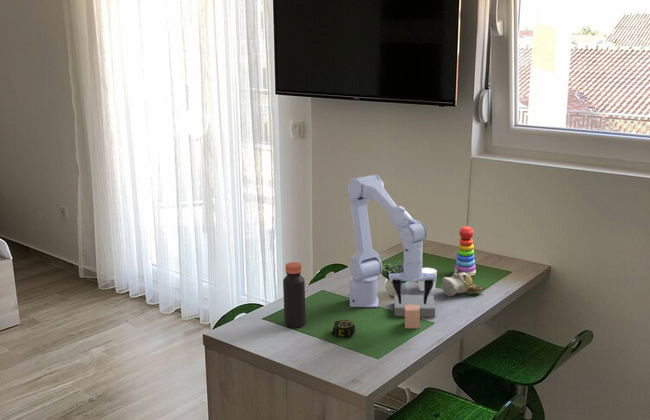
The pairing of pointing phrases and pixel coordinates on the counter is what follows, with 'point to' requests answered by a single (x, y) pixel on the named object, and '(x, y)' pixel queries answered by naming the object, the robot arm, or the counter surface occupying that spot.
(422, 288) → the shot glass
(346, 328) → the tape measure
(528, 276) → the counter surface
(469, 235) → the stacking toy
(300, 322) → the bottle
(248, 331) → the counter surface
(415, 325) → the terracotta block
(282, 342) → the counter surface
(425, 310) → the plinth
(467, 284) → the ceramic sculpture
